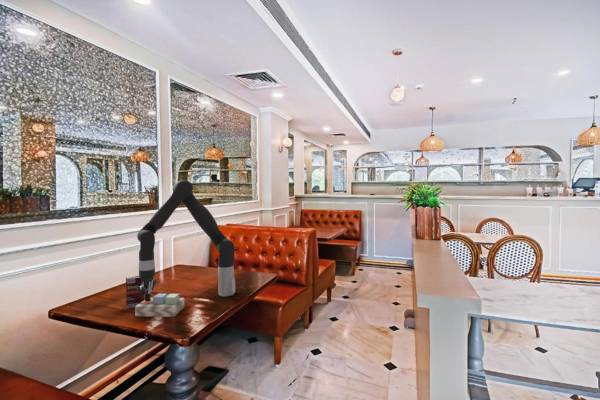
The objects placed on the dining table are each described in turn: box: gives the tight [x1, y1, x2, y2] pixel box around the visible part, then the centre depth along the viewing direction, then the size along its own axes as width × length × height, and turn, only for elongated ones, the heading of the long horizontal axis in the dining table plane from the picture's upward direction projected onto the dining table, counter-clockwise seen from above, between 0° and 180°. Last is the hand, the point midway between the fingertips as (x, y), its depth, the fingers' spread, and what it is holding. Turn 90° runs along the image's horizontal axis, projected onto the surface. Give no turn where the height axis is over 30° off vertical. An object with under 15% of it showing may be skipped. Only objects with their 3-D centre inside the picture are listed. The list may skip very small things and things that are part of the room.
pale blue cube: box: [152, 293, 168, 304], centre depth 157 cm, size 5×5×4 cm
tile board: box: [134, 297, 185, 318], centre depth 157 cm, size 20×12×5 cm, turn 87°
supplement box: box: [125, 275, 145, 309], centre depth 164 cm, size 9×5×16 cm, turn 121°
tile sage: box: [165, 293, 180, 305], centre depth 156 cm, size 5×5×4 cm
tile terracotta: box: [141, 299, 153, 304], centre depth 157 cm, size 5×5×4 cm
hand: (148, 300), depth 157 cm, fingers closed
